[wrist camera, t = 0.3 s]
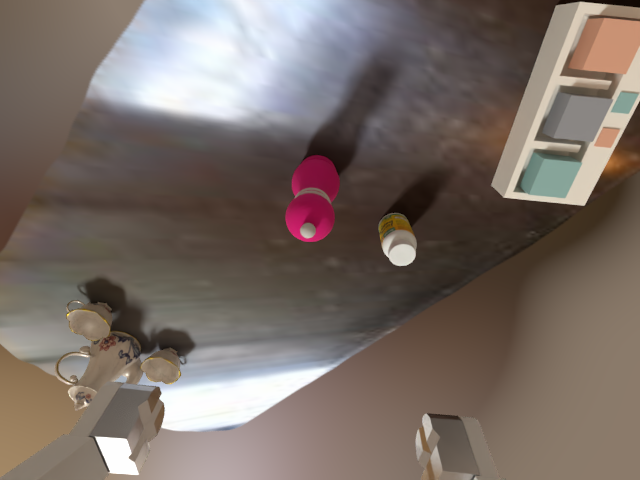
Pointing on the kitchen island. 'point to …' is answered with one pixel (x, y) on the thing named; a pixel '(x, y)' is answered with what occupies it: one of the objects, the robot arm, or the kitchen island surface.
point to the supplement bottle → (397, 239)
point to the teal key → (550, 175)
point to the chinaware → (111, 355)
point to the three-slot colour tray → (558, 77)
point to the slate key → (576, 116)
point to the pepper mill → (313, 199)
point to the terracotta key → (607, 45)
